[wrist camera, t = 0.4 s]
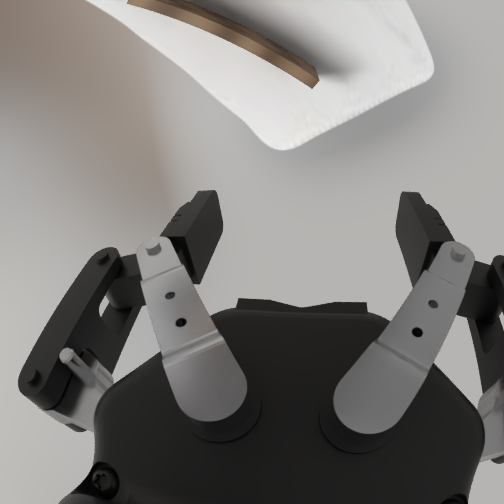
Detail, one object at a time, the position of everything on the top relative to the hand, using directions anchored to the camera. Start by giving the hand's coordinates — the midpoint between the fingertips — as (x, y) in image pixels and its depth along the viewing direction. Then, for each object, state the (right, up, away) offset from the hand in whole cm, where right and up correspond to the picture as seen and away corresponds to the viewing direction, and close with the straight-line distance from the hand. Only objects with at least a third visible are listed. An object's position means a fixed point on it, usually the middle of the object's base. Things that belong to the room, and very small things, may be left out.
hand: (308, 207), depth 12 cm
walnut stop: (-5, +25, +15) cm, 30 cm away
